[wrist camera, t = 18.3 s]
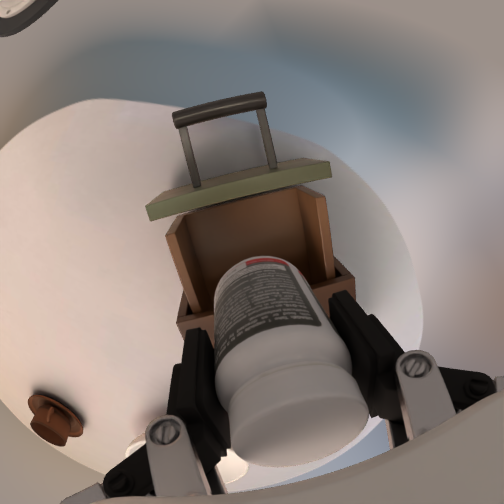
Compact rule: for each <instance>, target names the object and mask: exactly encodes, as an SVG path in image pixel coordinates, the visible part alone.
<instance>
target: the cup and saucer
mask: <svg viewBox="0 0 504 504" xmlns="http://www.w3.org/2000/svg"><path fill="white" fill-rule="evenodd" d="M28 405H29V408H30V410H31V411H32V412H33V414H34V417H33V419H32V421H31V423H30V425H31V427H32V429H33V430H34V431H35V432H36V433H37V434H38V435H39V436H40V437H41V438H43V439H44V440H46V441H47V442H49V443H51V444H54V445H56V446H65V445H66V442H67V439H68V436H70V437H79V436H81V435H82V434H83V427H82V425H81V423H80V421H79V420H78V418H77V417H76V416H75V415H74V414H73V413H72V412H71V411H70V410H69V409H68V408H66V407H65V406H63V405H62V404H60V403H59V402H57V401H55V400H53V399H51V398H49V397H46V396H43V395H32V396H31V397H30V398H29V399H28Z"/></svg>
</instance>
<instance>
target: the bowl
mask: <svg viewBox="0 0 504 504" xmlns="http://www.w3.org/2000/svg"><path fill="white" fill-rule="evenodd" d="M145 443H146V441H145V433H144V434H142V435H140V436H138V437H137V438H136V439H134V440H133V441H132V442H131V443H130V444H129V446H128V448H127V450H126V458H127V457H129V456H130V455H131V454H132V453H134V452H135V451H136V450H138V449H139V448H140V447H141V446H143V445H144V444H145ZM217 467H218V470H219V472H220V475H221V477H222V480H223V482H224V484H227V483H230V482H233V481H235V480H237V479H239V478H241V477H242V476H244V475H245V474H246V473H247V472H248V469H249V463H248V462H247V461H245V460H243V459H241V458H240V457H239V456H238V455H237V454H236V453H235V451H234V450H233V448H232V444H231V449H227V456H226V457H221V461H220V462H219V463H218V464H217Z"/></svg>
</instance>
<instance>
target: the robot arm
mask: <svg viewBox="0 0 504 504" xmlns="http://www.w3.org/2000/svg"><path fill="white" fill-rule="evenodd" d="M35 1H36V0H0V17H1V18H10V17H12V16H15V15H17V14H18V13H20V12H22V11H23V10H25V9H26V8H27V7H29V6H30V5H31V4H32V3H33V2H35ZM328 303H329V314H330V320H331V321H332V323H333V325H334V326H335V328H336V329H337V331H338V333H339V334H340V336H341V337H342V339H343V340H344V342H345V344H346V346H347V348H348V350H349V352H350V355H351V359H352V375H351V376H352V377H353V378H354V379H355V380H356V382H357V384H358V386H359V389H360V391H361V394H362V396H363V398H364V400H365V402H366V404H367V407H368V410H369V414H370V416H371V418H373V417H375V416H378V415H379V417H380V418H383V419H385V422H386V428H387V434H388V440H389V446H390V450H389V451H387V452H385V453H382V454H380V455H378V456H376V457H373V458H370V459H368V460H366V461H363V462H360V463H358V464H355V465H352V466H349V467H347V468H344V469H341V470H338V471H334V472H331V473H328V474H325V475H321V476H318V477H314V478H311V479H307V480H303V481H299V482H295V483H290V484H287V485H281V486H277V487H271V488H266V489H260V490H254V491H247V492H239V493H231V494H228V491H227V489H226V487H225V484H224V482H223V480H222V477H221V475H220V472H219V470H218V467H217V464H218V463H219V462H220V461H221V457H226V456H227V449H231V437H230V424H229V416H228V412H227V411H226V410H225V409H224V408H223V407H222V405H221V403H220V402H219V400H218V397H217V394H216V389H215V380H214V348H213V345H212V343H211V340H210V338H209V335H208V333H207V331H206V330H202V329H201V328H200V327H198V328H193V329H188V330H186V333H185V340H184V347H183V355H182V362H181V363H180V364H175V365H174V367H173V372H172V379H171V385H170V392H169V400H168V407H167V415H164V416H160V417H158V418H156V419H154V420H153V421H152V422H150V424H149V425H148V426H147V428H146V431H145V441H146V443H145V444H144V445H143V446H141V447H140V448H139V449H138V450H136V451H135V452H134V453H132V454H131V455H130V456H129V457H127V458H126V459H125V460H123V461H122V462H121V463H119V464H118V465H117V466H115V467H114V468H113V469H111V470H110V471H109V472H108V473H107V474H106V476H105V478H104V481H103V483H102V484H99V483H96V484H94V485H92V486H90V487H88V488H86V489H84V490H82V491H80V492H78V493H76V494H74V495H72V496H70V497H67V498H65V499H64V500H63V501H61V503H60V504H504V376H503V377H502V376H501V377H495V379H494V380H492V379H491V378H490V377H489V376H487V375H486V374H484V373H480V372H473V371H465V370H458V369H450V368H444V367H438V366H437V364H436V361H435V359H434V358H433V357H432V356H431V355H430V354H429V353H427V352H424V351H421V350H412V351H408V352H404V351H403V349H402V348H401V347H400V346H399V344H398V343H397V342H396V341H395V340H394V338H393V337H392V336H391V335H390V333H389V332H388V331H387V330H386V329H385V327H384V326H383V325H382V324H381V322H380V321H379V320H378V319H377V318H376V317H375V316H374V315H373V314H370V315H367V314H366V313H365V312H364V311H363V309H362V308H361V307H360V306H359V304H358V303H357V302H356V301H355V300H354V298H353V297H352V296H351V295H350V294H349V292H348V291H347V290H342V291H339V292H336V293H333V294H332V297H331V298H329V299H328Z"/></svg>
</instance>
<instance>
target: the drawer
mask: <svg viewBox="0 0 504 504" xmlns="http://www.w3.org/2000/svg"><path fill="white" fill-rule="evenodd" d="M266 107H267V102H266V97H265V94H264V93H263V92H256V93H251V94H245V95H240V96H235V97H231V98H226V99H222V100H218V101H213V102H209V103H205V104H201V105H197V106H193V107H190V108H186V109H183V110H179V111H176V112H173V113H172V118H173V122H174V125H175V128H176V129H179V133H180V137H181V141H182V145H183V149H184V153H185V157H186V161H187V165H188V169H189V172H190V176H191V180H192V184H188V185H185V186H181V187H178V188H174V189H171V190H168V191H164V192H163V193H161V194H160V195H159V196H157V197H156V198H155V199H154V200H152V201H151V202H150V203H148V204H147V205H146V206H145V207H146V210H147V213H148V217H149V220H150V221H154V220H157V219H161V218H164V217H168V216H171V215H175V214H178V213H182V212H185V211H189V210H193V209H196V208H200V207H204V206H208V205H212V204H215V203H219V202H223V201H227V200H231V199H235V198H239V197H243V196H248V195H252V194H256V193H260V192H265V191H269V190H273V189H278V188H282V187H287V186H291V185H296V184H301V183H306V182H311V181H315V180H320V179H326V178H331V177H332V174H331V168H330V162H329V161H323V160H315V159H307V158H300V159H295V160H289V161H284V162H279V163H277V161H276V156H275V152H274V147H273V143H272V138H271V134H270V130H269V125H268V121H267V117H266V113H265V108H266ZM254 110H256V113H257V117H258V121H259V125H260V130H261V134H262V138H263V143H264V147H265V152H266V156H267V161H268V165H265V166H261V167H256V168H252V169H247V170H243V171H239V172H235V173H231V174H226V175H222V176H218V177H215V178H211V179H207V180H203V181H200V177H199V173H198V169H197V165H196V161H195V158H194V154H193V150H192V146H191V141H190V137H189V133H188V129H187V127H186V126H190V125H194V124H197V123H201V122H205V121H209V120H213V119H217V118H221V117H225V116H230V115H234V114H239V113H244V112H248V111H254ZM165 237H166V240H167V243H168V246H169V249H170V252H171V255H172V258H173V261H174V263H175V266H176V269H177V272H178V275H179V278H180V280H181V283H182V286H183V289H184V291H185V294H186V297H187V299H188V302H189V305H190V307H191V310H192V312H193V314H197V313H201V312H206V311H210V310H214V297H215V291H216V288H217V285H218V283H219V281H220V280H221V278H222V277H223V276H224V274H225V273H226V272H227V271H228V270H229V269H231V268H232V267H233V266H235V265H236V264H238V263H239V262H241V261H243V260H246V259H248V258H252V257H257V256H272V257H277V258H281V259H283V260H286V261H287V262H289V263H291V264H292V265H294V266H295V267H296V268H297V269H298V270H299V271H300V272H301V273H302V275H303V276H304V278H305V279H306V281H307V283H308V284H309V285H313V284H317V283H320V282H324V281H327V280H331V279H334V278H335V268H334V258H333V249H332V241H331V233H330V226H329V218H328V211H327V205H326V198H325V196H324V195H322V194H319V193H317V192H315V191H313V190H311V189H309V188H307V187H304V186H302V185H300V186H296V187H291V188H286V189H282V190H277V191H273V192H268V193H264V194H260V195H256V196H251V197H247V198H243V199H239V200H235V201H231V202H227V203H223V204H219V205H215V206H211V207H207V208H204V209H200V210H196V211H192V212H189V213H185V214H181V215H178V216H177V217H176V219H175V221H174V222H173V224H172V225H171V227H170V229H169V230H168V232H167V234H166V235H165Z"/></svg>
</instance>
